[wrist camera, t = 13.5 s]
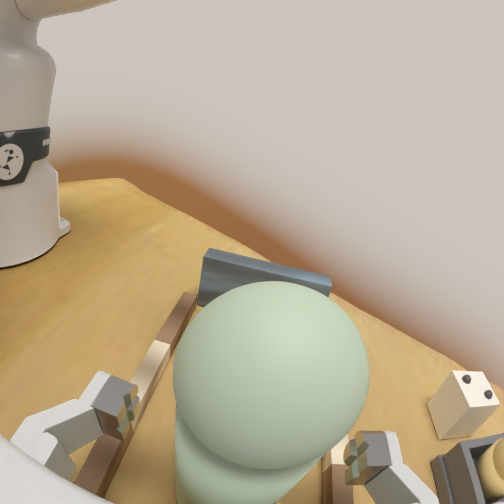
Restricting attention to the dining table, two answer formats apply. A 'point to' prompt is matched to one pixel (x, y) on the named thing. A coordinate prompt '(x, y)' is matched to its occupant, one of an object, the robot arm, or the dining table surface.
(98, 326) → the dining table surface
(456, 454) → the base
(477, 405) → the die
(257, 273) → the track
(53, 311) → the dining table surface
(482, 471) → the dome
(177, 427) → the pawn
